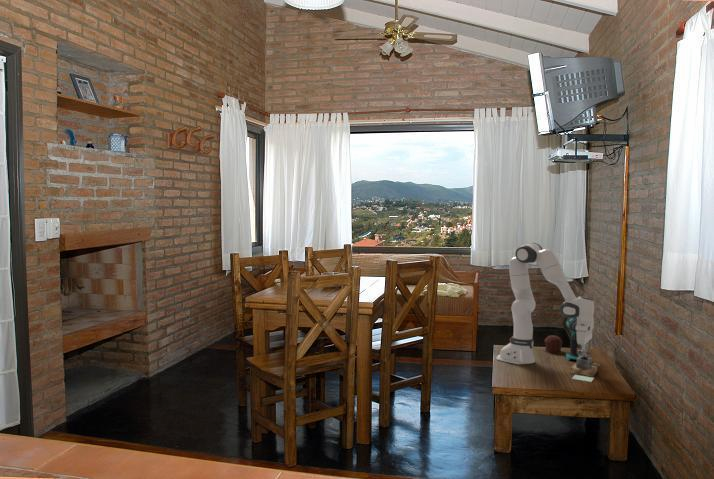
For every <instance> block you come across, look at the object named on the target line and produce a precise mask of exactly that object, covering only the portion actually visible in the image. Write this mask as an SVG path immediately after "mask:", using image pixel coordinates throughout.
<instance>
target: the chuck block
mask: <svg viewBox="0 0 714 479" xmlns="http://www.w3.org/2000/svg"><path fill="white" fill-rule="evenodd" d="M598 367H600V363H597V362H593V358H592V357H589V356H587V360H586V359H582V355H581V356H579V357H578V358H577V359H576V362H575V363H574V364H572V366H571V367H570V374H573V375H580V376H586V377H593V378H594V376H596V374H597V372H598Z"/></svg>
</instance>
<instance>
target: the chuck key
mask: <svg viewBox="0 0 714 479" xmlns="http://www.w3.org/2000/svg"><path fill="white" fill-rule="evenodd" d="M585 347H586V350H582V349H577V353H578V354H581V356H582V359H586V360H587V357H588V355H590V356H591V355H592V354H593V353H592V351H589V350H588V346H587V345H585Z"/></svg>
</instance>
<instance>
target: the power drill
mask: <svg viewBox="0 0 714 479" xmlns="http://www.w3.org/2000/svg"><path fill="white" fill-rule="evenodd" d="M565 324H566V327H567V329H568V330H569V331H570V341H569V344H570V345H569V347H570V349H569V350H570V351H569V352H566V353H565V354H564V355H565V356H564V357H565V358H566V359H567V361H570V360H576V359H577V358H578V357H579V356H582V354H581V353H578V345H579V344H578V343H577V330H576V325H577V318H576V317H575V318H567V319H566V322H565Z"/></svg>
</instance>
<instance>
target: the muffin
mask: <svg viewBox="0 0 714 479" xmlns="http://www.w3.org/2000/svg"><path fill="white" fill-rule="evenodd" d="M543 341H544V345H545V346H544V347H545V351H546V352H548V353H552V354H558V353H561V351H562V346H563V343H564V342H563V340H562V339H561V338H560V337H559V336H558V335H554V334H553V335H551V334H550V335H548V336H547V337H546V338H545V339H544V340H543Z"/></svg>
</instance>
